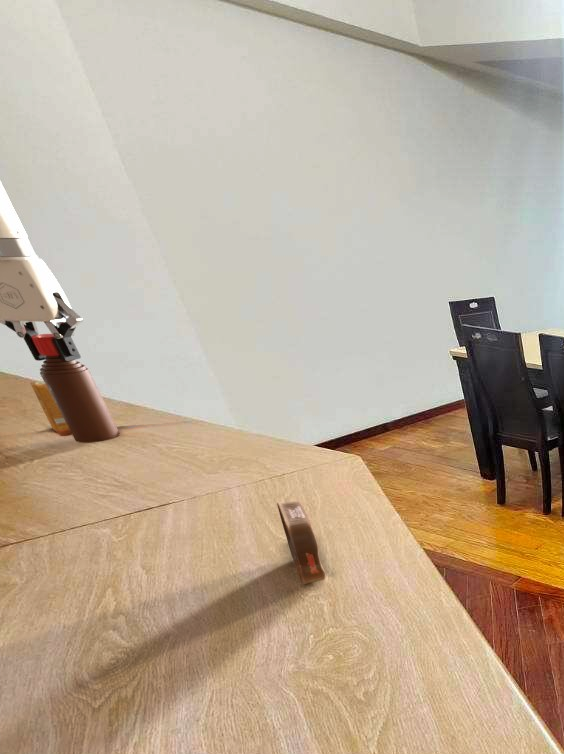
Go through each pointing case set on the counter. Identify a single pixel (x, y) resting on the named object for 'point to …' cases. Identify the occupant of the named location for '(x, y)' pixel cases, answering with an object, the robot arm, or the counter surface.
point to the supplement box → (50, 408)
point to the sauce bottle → (78, 399)
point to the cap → (45, 344)
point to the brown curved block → (301, 541)
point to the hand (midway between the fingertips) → (58, 358)
